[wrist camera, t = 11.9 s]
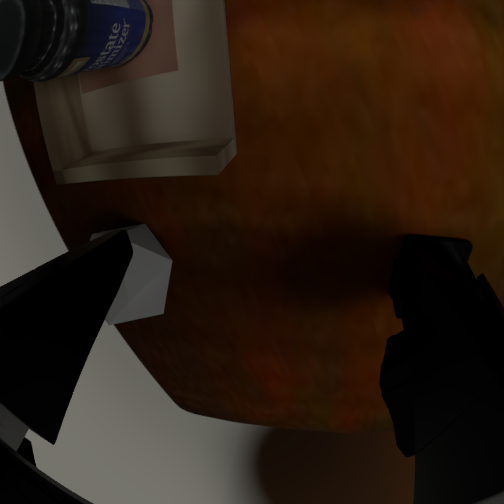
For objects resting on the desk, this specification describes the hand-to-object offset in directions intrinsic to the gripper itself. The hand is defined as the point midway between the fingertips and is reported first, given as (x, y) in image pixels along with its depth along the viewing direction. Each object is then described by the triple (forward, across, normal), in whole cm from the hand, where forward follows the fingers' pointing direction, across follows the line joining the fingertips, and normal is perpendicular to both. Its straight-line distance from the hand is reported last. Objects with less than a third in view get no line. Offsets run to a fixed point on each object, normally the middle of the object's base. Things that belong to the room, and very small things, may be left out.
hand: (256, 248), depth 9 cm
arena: (+13, +11, -7) cm, 18 cm away
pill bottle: (+13, +12, -10) cm, 20 cm away
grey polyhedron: (+13, +14, +10) cm, 22 cm away
